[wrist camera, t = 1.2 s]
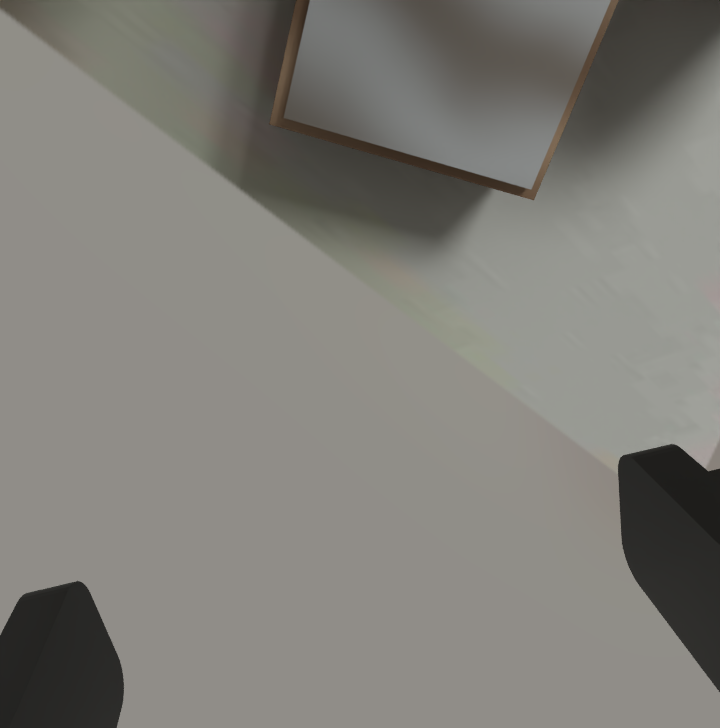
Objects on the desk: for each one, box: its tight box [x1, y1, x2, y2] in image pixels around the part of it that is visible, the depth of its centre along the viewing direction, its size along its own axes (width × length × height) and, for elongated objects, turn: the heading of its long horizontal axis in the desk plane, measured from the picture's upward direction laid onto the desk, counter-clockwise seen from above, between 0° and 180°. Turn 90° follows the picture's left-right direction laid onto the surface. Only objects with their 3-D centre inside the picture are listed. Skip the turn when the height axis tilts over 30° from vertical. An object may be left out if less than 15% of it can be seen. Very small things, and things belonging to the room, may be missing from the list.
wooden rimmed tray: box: [269, 0, 619, 200], centre depth 28 cm, size 12×12×6 cm
